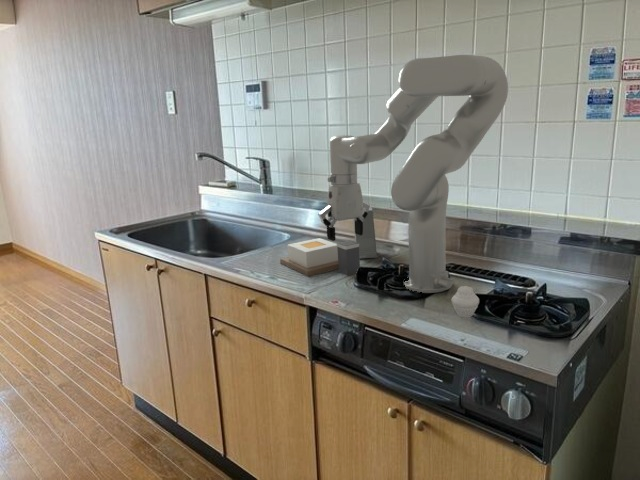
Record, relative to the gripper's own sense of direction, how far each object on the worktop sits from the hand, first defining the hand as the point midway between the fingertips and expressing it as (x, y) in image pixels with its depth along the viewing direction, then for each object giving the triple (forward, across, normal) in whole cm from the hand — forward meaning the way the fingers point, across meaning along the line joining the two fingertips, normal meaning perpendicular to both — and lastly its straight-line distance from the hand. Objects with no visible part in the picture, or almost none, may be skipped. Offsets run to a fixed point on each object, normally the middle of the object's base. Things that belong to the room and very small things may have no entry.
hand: (345, 237), depth 150 cm
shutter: (+6, -4, +13) cm, 15 cm away
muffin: (+9, +2, -45) cm, 46 cm away
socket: (+11, -4, +13) cm, 17 cm away
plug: (+11, 0, -1) cm, 11 cm away
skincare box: (+11, +14, +10) cm, 21 cm away
